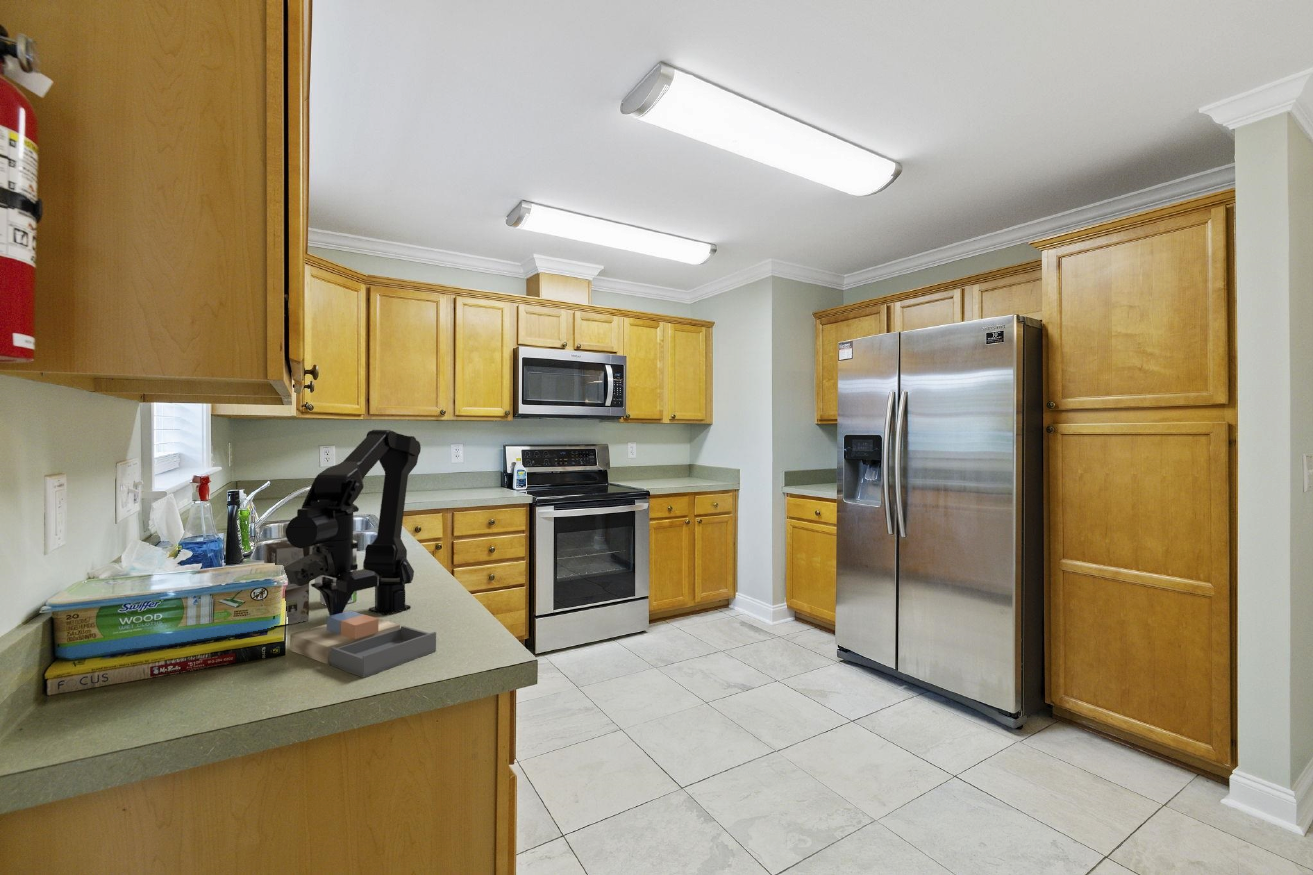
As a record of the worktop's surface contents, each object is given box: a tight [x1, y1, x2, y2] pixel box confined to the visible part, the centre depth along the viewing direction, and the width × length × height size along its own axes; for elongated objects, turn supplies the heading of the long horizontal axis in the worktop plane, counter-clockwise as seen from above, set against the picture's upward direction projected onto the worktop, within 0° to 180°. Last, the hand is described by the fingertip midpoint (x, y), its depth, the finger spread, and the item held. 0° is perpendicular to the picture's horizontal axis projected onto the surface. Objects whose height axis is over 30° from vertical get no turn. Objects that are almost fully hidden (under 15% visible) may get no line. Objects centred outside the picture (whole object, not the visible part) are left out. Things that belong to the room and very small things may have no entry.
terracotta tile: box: [341, 614, 380, 639], centre depth 108 cm, size 4×4×2 cm
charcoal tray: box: [328, 625, 437, 678], centre depth 105 cm, size 10×14×4 cm
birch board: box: [289, 618, 401, 665], centre depth 111 cm, size 12×14×3 cm
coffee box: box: [263, 540, 311, 625], centre depth 125 cm, size 9×6×16 cm
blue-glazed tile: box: [326, 610, 364, 635], centre depth 111 cm, size 4×4×2 cm
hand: (335, 620), depth 112 cm, fingers closed
